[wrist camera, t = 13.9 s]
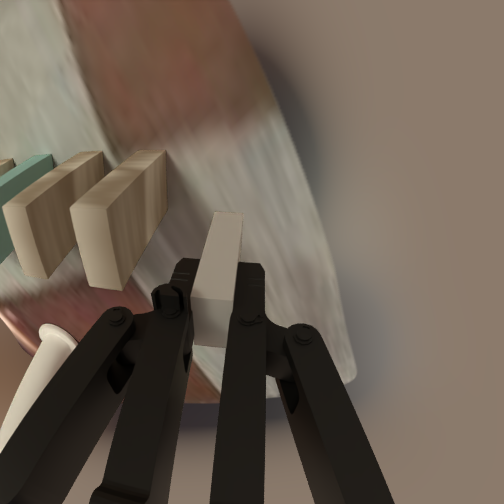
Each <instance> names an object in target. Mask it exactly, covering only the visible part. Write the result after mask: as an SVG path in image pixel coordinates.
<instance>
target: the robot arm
mask: <svg viewBox="0 0 504 504" xmlns="http://www.w3.org/2000/svg"><path fill="white" fill-rule="evenodd" d="M242 226H243V213H230V212H217V211H215V213H214V216H213V219H212V223H211V226H210V229H209V233H208V236H207V239H206V243H205V246H204V250H203V253H202V256H201V259H191V258H183V259H181V260H180V261H179V262H178V263H177V264H176V266H175V269H174V272H173V274H172V277H171V280H170V282H169V283H168V284H163V285H159V286H158V287H156V288H155V289H154V290H153V291H152V293H151V296H152V302H153V307H154V311H151V312H148V313H144V314H135V315H133V314H132V312H131V311H130V310H129V309H127V308H126V307H120V306H119V307H113V308H110V309H108V310H107V311H106V312H104V313H103V314H102V315H101V317H100V318H99V319H98V320H97V321H96V323H95V324H94V325H93V326H92V328H91V329H90V330H89V331H88V332H87V334H86V335H85V336H84V337H83V339H82V340H81V341H80V342H79V344H78V345H77V346H76V347H75V349H74V350H73V351H72V352H71V354H70V355H69V356H68V358H67V359H66V360H65V361H64V363H63V364H62V365H61V367H60V368H59V369H58V371H57V372H56V373H55V375H54V376H53V377H52V379H51V380H50V381H49V383H48V384H47V385H46V387H45V388H44V389H43V391H42V392H41V394H40V395H39V396H38V398H37V399H36V401H35V402H34V403H33V405H32V406H31V408H30V409H29V411H28V412H27V413H26V415H25V416H24V418H23V419H22V421H21V422H20V424H19V425H18V427H17V428H16V430H15V431H14V433H13V434H12V436H11V437H10V439H9V440H8V442H7V444H6V445H5V447H4V448H3V450H2V451H1V453H0V504H62V503H63V501H64V500H65V498H66V496H67V495H68V493H69V491H70V489H71V487H72V486H73V484H74V482H75V480H76V478H77V476H78V475H79V473H80V471H81V470H82V468H83V466H84V464H85V463H86V461H87V459H88V457H89V456H90V454H91V452H92V450H93V449H94V447H95V445H96V444H97V442H98V440H99V438H100V437H101V435H102V433H103V432H104V430H105V428H106V427H107V425H108V423H109V422H110V420H111V418H112V417H113V415H114V413H115V412H116V410H117V408H118V407H119V405H120V403H121V402H122V400H123V399H124V402H123V405H122V409H121V412H120V415H119V419H118V422H117V426H116V430H115V433H114V437H113V441H112V445H111V448H110V452H109V457H108V460H107V465H106V469H105V473H104V478H103V481H102V483H101V485H100V486H99V487H97V488H96V489H95V490H94V492H93V493H92V495H91V498H90V502H89V504H168V498H169V491H170V483H171V477H172V470H173V464H174V457H175V451H176V445H177V439H178V433H179V427H180V421H181V415H182V409H183V404H184V399H185V393H186V388H187V382H188V377H189V372H190V367H191V361H192V356H193V353H192V345H193V340H194V345H202V346H211V347H222V348H226V354H225V363H224V371H223V380H222V389H221V398H220V407H219V416H218V426H217V435H216V444H215V455H214V463H213V473H212V483H211V494H210V504H264V474H265V473H264V472H265V419H266V414H265V413H266V375H269V376H271V377H274V378H275V380H276V383H277V386H278V389H279V393H280V396H281V399H282V402H283V405H284V409H285V412H286V415H287V418H288V421H289V424H290V428H291V431H292V434H293V437H294V440H295V443H296V447H297V450H298V453H299V456H300V459H301V462H302V465H303V468H304V472H305V475H306V478H307V481H308V484H309V487H310V490H311V493H312V496H313V499H314V502H315V504H395V503H394V501H393V499H392V496H391V493H390V491H389V489H388V486H387V484H386V481H385V479H384V477H383V474H382V472H381V469H380V467H379V465H378V462H377V460H376V457H375V455H374V453H373V450H372V449H371V446H370V444H369V441H368V439H367V436H366V434H365V432H364V430H363V427H362V425H361V423H360V421H359V418H358V416H357V414H356V411H355V409H354V407H353V405H352V403H351V400H350V398H349V396H348V394H347V391H346V389H345V387H344V385H343V382H342V380H341V378H340V376H339V374H338V371H337V369H336V367H335V365H334V363H333V360H332V358H331V356H330V354H329V352H328V350H327V347H326V345H325V343H324V341H323V339H322V337H321V334H320V333H319V332H318V330H317V329H315V328H314V327H312V326H311V325H307V324H299V323H298V324H294V325H291V326H290V327H289V328H288V329H287V328H284V327H281V326H279V325H276V324H274V323H273V322H271V321H270V320H269V319H268V318H267V316H266V314H265V271H264V269H263V267H262V266H261V264H260V263H247V262H240V255H241V240H242ZM124 397H125V398H124Z"/></svg>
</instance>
